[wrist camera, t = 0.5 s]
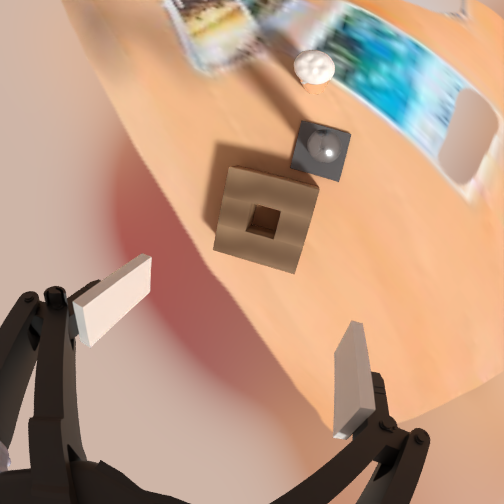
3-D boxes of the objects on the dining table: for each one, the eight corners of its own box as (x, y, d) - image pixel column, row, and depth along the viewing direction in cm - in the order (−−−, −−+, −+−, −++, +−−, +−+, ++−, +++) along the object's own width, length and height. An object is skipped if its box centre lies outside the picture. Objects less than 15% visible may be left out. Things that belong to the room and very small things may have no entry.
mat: (301, 120, 34) (301, 120, 34) (350, 134, 33) (351, 134, 33) (290, 167, 37) (290, 168, 36) (338, 181, 36) (338, 181, 35)
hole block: (237, 165, 38) (228, 166, 34) (318, 186, 37) (319, 190, 33) (221, 241, 43) (212, 249, 39) (296, 263, 41) (294, 274, 37)
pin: (312, 137, 34) (311, 125, 21) (333, 143, 34) (345, 134, 21) (307, 158, 35) (303, 157, 22) (328, 164, 35) (336, 167, 22)
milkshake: (290, 95, 33) (282, 74, 24) (306, 65, 31) (303, 37, 22) (320, 109, 33) (321, 92, 24) (336, 79, 31) (342, 54, 22)
